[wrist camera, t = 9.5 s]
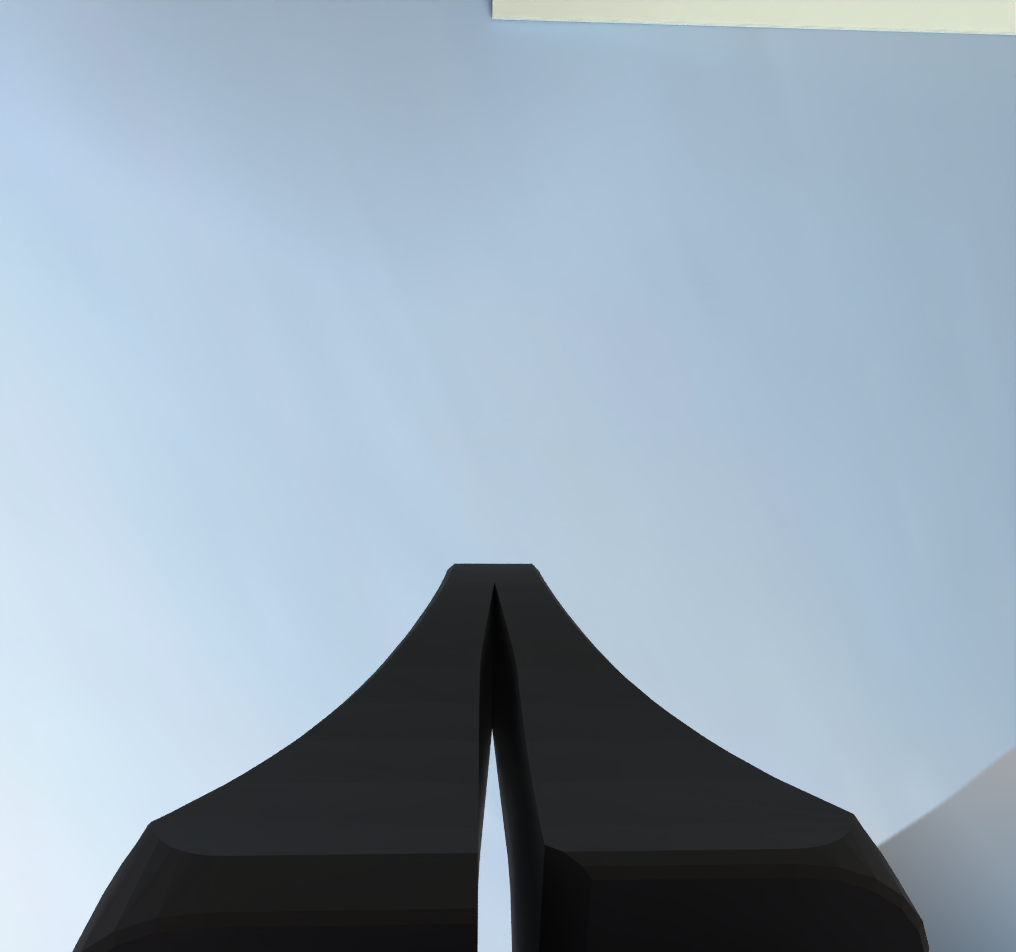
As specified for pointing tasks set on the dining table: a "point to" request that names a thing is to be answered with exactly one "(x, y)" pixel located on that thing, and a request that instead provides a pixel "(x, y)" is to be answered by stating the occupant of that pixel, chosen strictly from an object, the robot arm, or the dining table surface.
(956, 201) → the dining table surface
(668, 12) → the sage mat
